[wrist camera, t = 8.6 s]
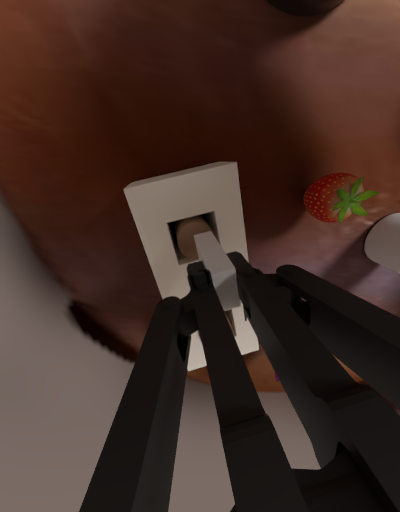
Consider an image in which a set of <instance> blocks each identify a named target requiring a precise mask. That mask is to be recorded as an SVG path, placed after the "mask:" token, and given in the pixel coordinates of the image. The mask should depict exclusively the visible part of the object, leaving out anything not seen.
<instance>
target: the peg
mask: <svg viewBox="0 0 400 512" xmlns="http://www.w3.org/2000/svg"><path fill="white" fill-rule="evenodd" d="M174 228H175V232H176V237H177V242H178V246H179V249H180V251H181V252H182V254H183V255H185V256H186V257H188V258H191V259H199V257H198V252H197V248H196V244H195V240H194V235H196V234H200V233H204V232H208V231H211V232H212V233H213V235H214V236H215V234H214V232H213V231H212V229H211V228H210V227H209V225H208V224H207V223H206V221H205V220H204V219H203V217H202V216H201V215H196V216H192V217H188V218H184V219H180V220H176V221H175V222H174Z"/></svg>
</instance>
